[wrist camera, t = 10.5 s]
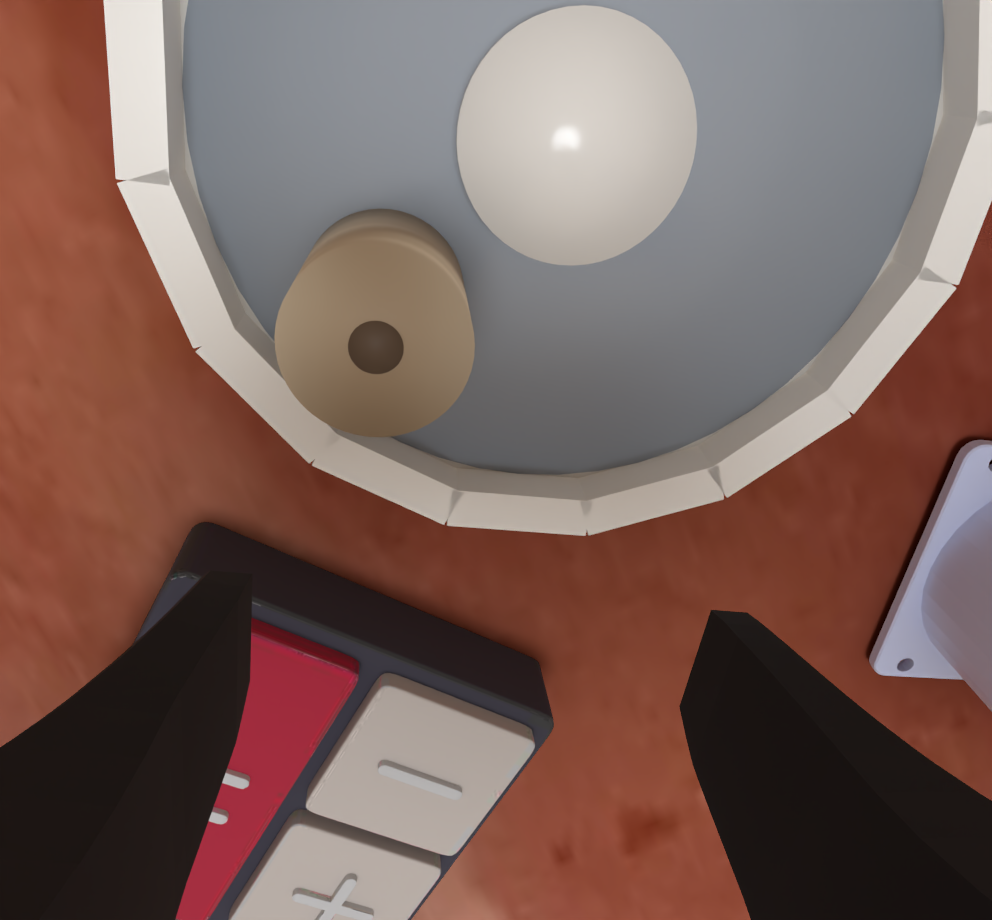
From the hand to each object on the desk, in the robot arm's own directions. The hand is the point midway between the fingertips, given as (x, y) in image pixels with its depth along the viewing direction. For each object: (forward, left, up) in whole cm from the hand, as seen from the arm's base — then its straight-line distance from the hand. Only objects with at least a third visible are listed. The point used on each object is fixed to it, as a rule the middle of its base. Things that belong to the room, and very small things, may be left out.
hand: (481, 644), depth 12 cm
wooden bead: (+2, -3, -8) cm, 9 cm away
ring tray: (-2, -7, -9) cm, 11 cm away
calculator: (+4, +12, -10) cm, 16 cm away
